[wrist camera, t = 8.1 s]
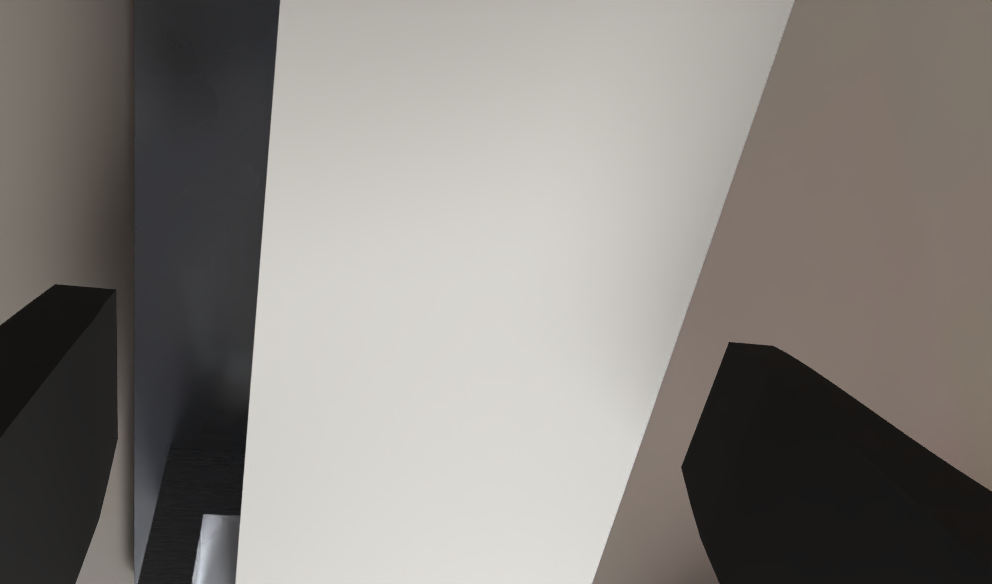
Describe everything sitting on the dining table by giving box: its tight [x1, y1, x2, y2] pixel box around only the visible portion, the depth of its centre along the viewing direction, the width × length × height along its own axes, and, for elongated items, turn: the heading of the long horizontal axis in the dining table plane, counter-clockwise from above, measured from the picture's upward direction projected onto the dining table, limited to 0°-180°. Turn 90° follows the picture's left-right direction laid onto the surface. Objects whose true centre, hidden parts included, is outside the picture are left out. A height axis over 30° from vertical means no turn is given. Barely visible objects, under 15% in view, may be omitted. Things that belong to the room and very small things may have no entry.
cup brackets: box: [134, 0, 280, 584], centre depth 14 cm, size 8×20×5 cm, turn 169°
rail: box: [235, 0, 795, 584], centre depth 12 cm, size 4×18×5 cm, turn 169°
